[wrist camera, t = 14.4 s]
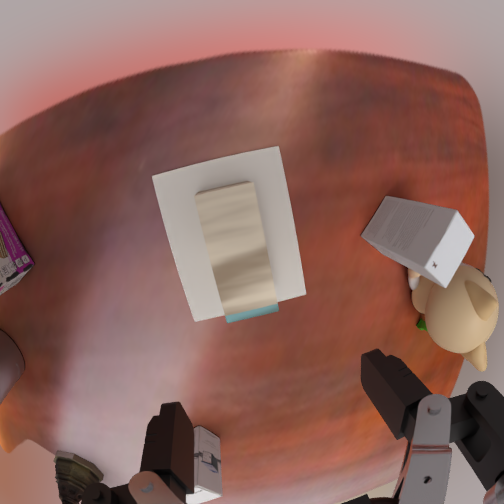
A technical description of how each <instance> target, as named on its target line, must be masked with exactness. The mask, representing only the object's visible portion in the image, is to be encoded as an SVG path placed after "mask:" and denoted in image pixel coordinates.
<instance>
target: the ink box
mask: <svg viewBox="0 0 504 504" xmlns="http://www.w3.org/2000/svg"><path fill="white" fill-rule="evenodd" d="M221 496H222V477H221V457H220V438H219V437H217V436H216V435H214V434H213V433H211V432H210V431H208V430H206V429H205V428H203V427H201V426H197V427H195V428H194V494H186V503H187V504H199V503H203V502H206V501H209V500H212V499H215V498H218V497H221Z"/></svg>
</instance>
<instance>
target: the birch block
mask: <svg viewBox="0 0 504 504" xmlns="http://www.w3.org/2000/svg"><path fill="white" fill-rule="evenodd" d="M194 198H195V203H196V207H197V211H198V215H199V219H200V223H201V227H202V231H203V235H204V239H205V243H206V247H207V251H208V255H209V259H210V263H211V266H212V270H213V274H214V278H215V281H216V285H217V289H218V292H219V296H220V300H221V303H222V307H223V310H224V314H225V317H226V321H227V323H230V322H235V321H239V320H244V319H248V318H252V317H256V316H260V315H264V314H269V313H273V312H277V311H279V308H278V303H277V297H276V292H275V287H274V282H273V277H272V271H271V266H270V261H269V256H268V251H267V246H266V241H265V236H264V231H263V226H262V221H261V216H260V211H259V206H258V202H257V197H256V192H255V187H254V182H250V181H244V182H239V183H234V184H230V185H225V186H221V187H217V188H212V189H208V190H204V191H200V192H197V193H196V194H195V195H194Z"/></svg>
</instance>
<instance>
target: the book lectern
mask: <svg viewBox="0 0 504 504" xmlns="http://www.w3.org/2000/svg"><path fill="white" fill-rule="evenodd" d="M54 462H55V463H56V465H55V468H56V477H55V478H56V479H57V481H56V482H57V483H58V489H59V498H60V499H61V501H62V504H79V502H80V501H81V500H82V496H83V492H84V490H85V488H86V487H87V486H89V485H90V484H92V483H100V482H101V481H102V480H103V476H104V475H103V474H102V473H101V472H100V470H99V469H98V468H97V467H96V466H95V465H94V464H93V463H91V462H89V461H87V460H85V459H83V458H81V457H79V456H77V455H76V454H73V453H67V452H62V451H57V454H56V456H55V459H54Z"/></svg>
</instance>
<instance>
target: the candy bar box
mask: <svg viewBox="0 0 504 504" xmlns="http://www.w3.org/2000/svg"><path fill="white" fill-rule="evenodd" d="M33 266H34V262H33V261H32V259H31V258H30V256H29V254H28V253H27V251H26V250H25V248H24V246H23V245H22V243H21V241H20V240H19V238H18V236H17V234H16V232H15V231H14V229H13V227H12V225H11V223H10V221H9V220H8V218H7V216H6V214H5V212H4V210H3V208H2V205H1V204H0V295H1V294H3V293H4V292H6V291H7V290H8V289H10V288H11V287H13V286H14V285H16V284H17V283H18V282H19V281H20V280H21V279H22V278H23V277H24V275H25V274H26V273H27V272H28V271H29V270H30V269H31V268H32V267H33Z"/></svg>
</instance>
